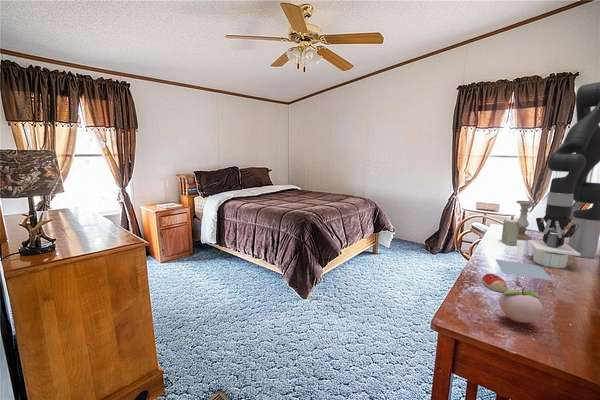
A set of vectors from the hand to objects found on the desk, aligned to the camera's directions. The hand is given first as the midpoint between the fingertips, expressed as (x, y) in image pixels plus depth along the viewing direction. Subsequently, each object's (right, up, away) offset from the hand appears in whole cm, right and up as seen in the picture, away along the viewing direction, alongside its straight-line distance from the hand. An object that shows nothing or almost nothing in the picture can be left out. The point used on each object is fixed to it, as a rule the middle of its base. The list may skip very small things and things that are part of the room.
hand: (552, 244), depth 111 cm
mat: (-17, -10, -5) cm, 20 cm away
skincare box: (+3, -4, +28) cm, 28 cm away
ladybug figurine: (-37, -12, -17) cm, 42 cm away
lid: (0, -2, 0) cm, 2 cm away
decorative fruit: (-45, -15, -38) cm, 61 cm away
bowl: (0, -9, +1) cm, 9 cm away
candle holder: (+17, -3, +37) cm, 41 cm away
